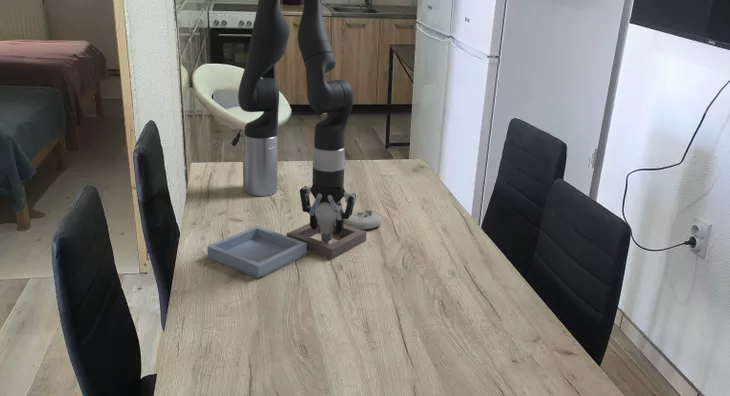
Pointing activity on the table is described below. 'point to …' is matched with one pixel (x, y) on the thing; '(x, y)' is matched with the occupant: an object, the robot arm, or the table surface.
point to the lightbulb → (326, 220)
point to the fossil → (364, 219)
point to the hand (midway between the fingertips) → (326, 230)
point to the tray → (257, 251)
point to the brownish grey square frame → (324, 249)
